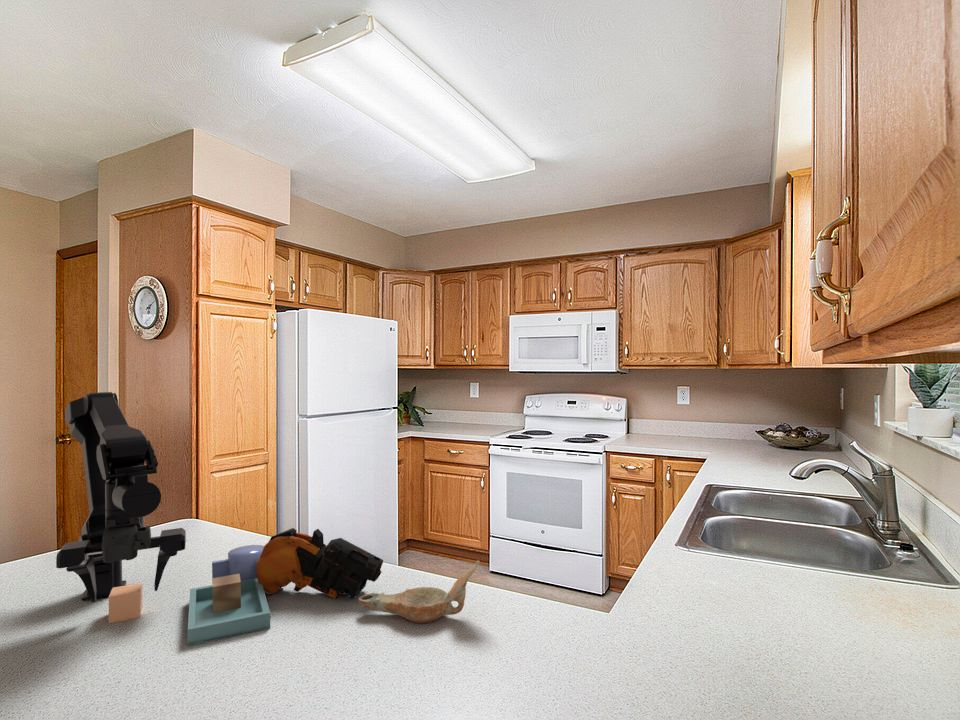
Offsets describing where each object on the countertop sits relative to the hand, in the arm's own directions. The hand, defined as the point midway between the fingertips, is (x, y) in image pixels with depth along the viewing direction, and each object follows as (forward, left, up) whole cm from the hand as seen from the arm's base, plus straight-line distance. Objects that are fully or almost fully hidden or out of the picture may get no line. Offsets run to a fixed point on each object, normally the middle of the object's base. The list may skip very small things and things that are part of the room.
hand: (125, 595), depth 97 cm
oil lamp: (+26, +45, -4) cm, 52 cm away
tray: (+9, +16, -3) cm, 19 cm away
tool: (+8, +32, -3) cm, 33 cm away
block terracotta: (0, 0, -3) cm, 3 cm away
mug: (-3, +19, -3) cm, 19 cm away
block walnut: (+6, +16, -3) cm, 17 cm away
